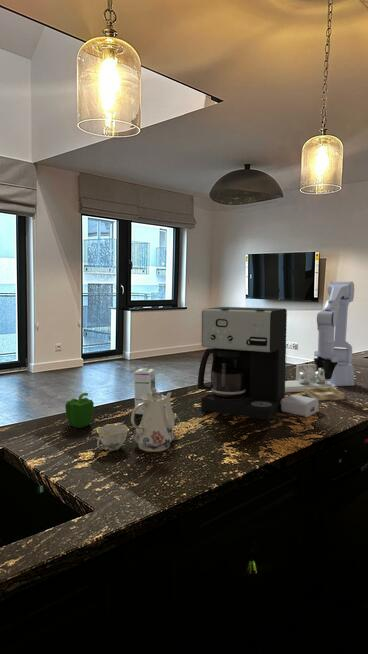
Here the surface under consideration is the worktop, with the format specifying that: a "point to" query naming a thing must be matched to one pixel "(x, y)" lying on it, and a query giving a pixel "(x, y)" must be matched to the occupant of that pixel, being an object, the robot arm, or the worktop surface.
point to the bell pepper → (79, 411)
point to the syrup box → (143, 385)
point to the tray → (324, 393)
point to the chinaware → (145, 425)
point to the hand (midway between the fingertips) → (324, 377)
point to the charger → (299, 405)
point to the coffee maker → (244, 360)
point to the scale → (296, 387)
